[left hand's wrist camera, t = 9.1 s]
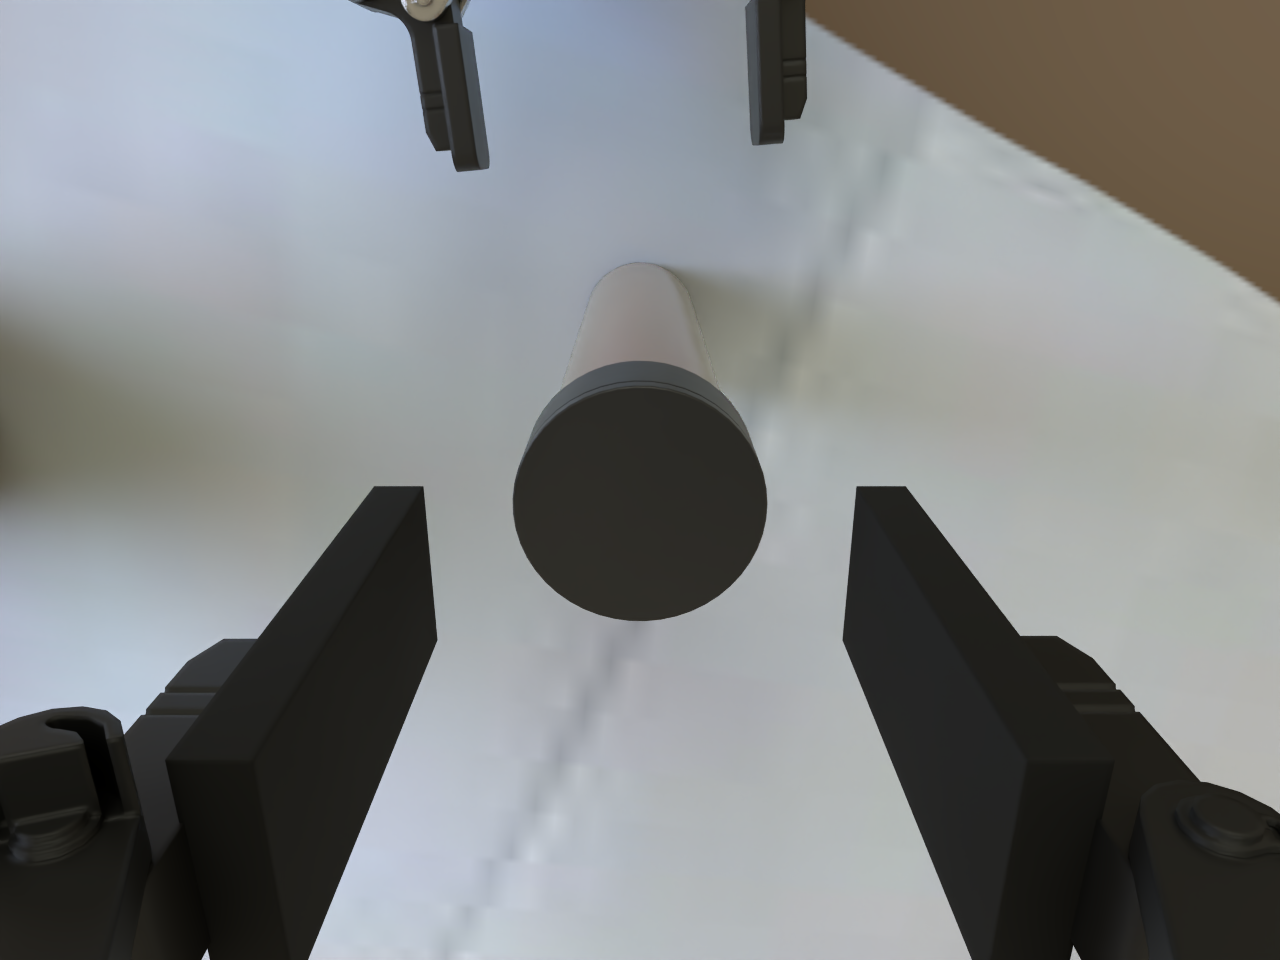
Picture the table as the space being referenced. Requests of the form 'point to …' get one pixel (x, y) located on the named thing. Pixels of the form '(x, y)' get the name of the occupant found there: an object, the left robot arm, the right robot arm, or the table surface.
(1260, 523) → the table surface
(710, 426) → the lid
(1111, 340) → the table surface
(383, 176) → the table surface
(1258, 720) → the table surface
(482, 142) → the right robot arm
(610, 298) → the pinkish beige cylinder
